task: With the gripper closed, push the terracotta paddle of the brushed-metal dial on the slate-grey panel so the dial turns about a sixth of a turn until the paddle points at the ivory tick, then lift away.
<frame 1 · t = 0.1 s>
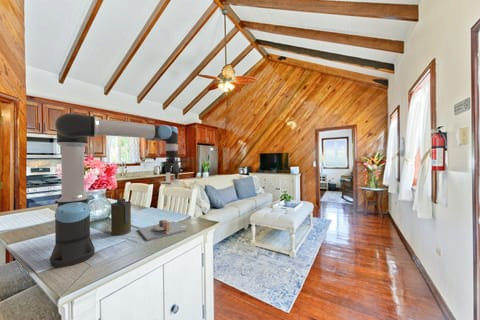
hand: (171, 183, 128), 28 cm above the countertop, fingers open, 13 cm apart
canister: (121, 232, 117), on the countertop
dial: (163, 224, 117), point 4 cm above the countertop, hinge at 0.0°
panel: (161, 230, 119), on the countertop
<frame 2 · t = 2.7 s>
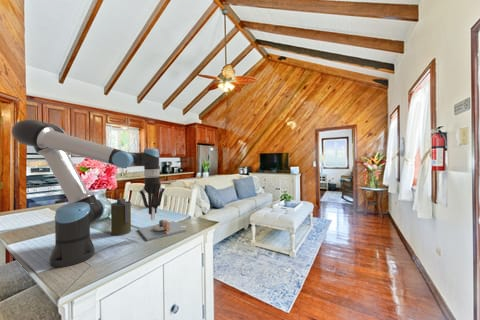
hand: (152, 219, 108), 10 cm above the countertop, fingers closed
nothing on the countertop moved.
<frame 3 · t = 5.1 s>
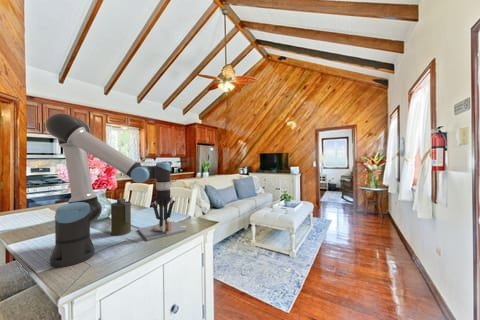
hand: (163, 230, 112), 3 cm above the countertop, fingers closed
dial: (163, 224, 118), point 4 cm above the countertop, hinge at 6.3°, touching gripper
everything else where it was.
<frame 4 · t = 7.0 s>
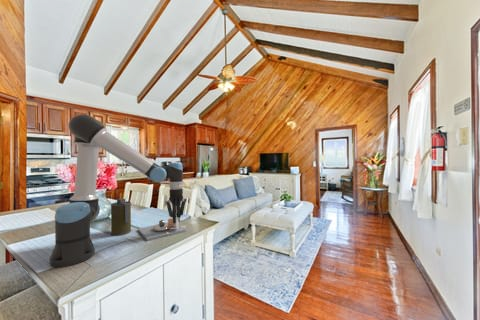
hand: (176, 228, 117), 3 cm above the countertop, fingers closed
dial: (166, 223, 119), point 4 cm above the countertop, hinge at 49.1°, touching gripper
everything else where it was.
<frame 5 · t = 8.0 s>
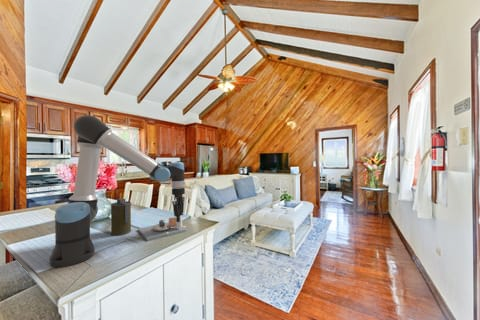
hand: (179, 226, 120), 3 cm above the countertop, fingers closed
dial: (166, 223, 120), point 4 cm above the countertop, hinge at 65.1°, touching gripper
everything else where it was.
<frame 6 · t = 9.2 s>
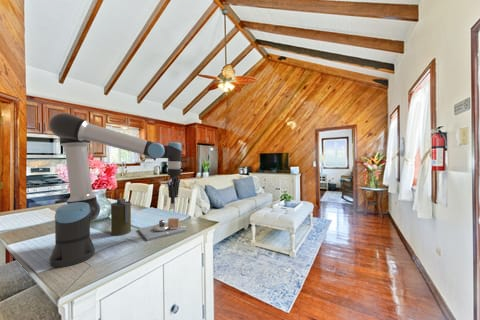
hand: (173, 208, 116), 14 cm above the countertop, fingers closed
dial: (166, 223, 119), point 4 cm above the countertop, hinge at 51.8°
everything else where it was.
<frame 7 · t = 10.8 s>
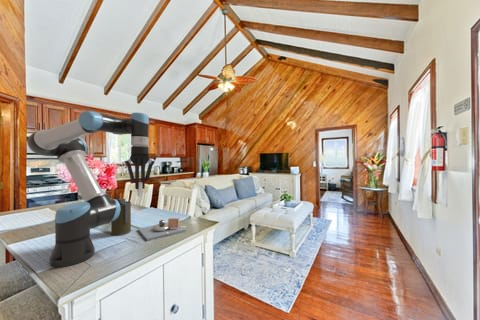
hand: (139, 195, 93), 26 cm above the countertop, fingers closed
nothing on the countertop moved.
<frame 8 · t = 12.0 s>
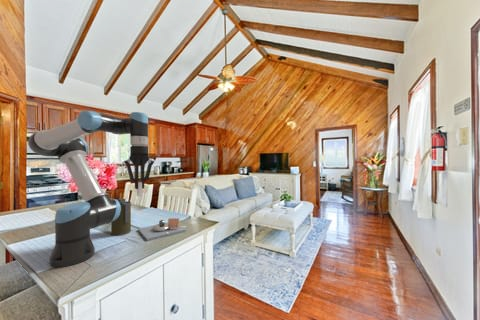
hand: (139, 195, 93), 26 cm above the countertop, fingers closed
nothing on the countertop moved.
at the end: dial at +52° (first picture: +0°) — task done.
